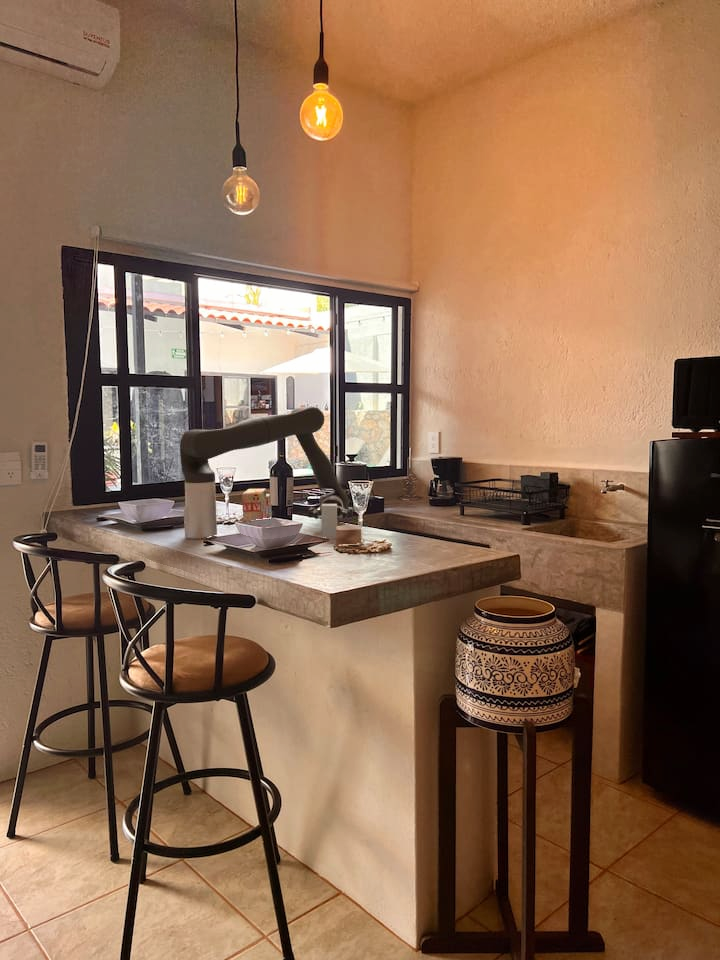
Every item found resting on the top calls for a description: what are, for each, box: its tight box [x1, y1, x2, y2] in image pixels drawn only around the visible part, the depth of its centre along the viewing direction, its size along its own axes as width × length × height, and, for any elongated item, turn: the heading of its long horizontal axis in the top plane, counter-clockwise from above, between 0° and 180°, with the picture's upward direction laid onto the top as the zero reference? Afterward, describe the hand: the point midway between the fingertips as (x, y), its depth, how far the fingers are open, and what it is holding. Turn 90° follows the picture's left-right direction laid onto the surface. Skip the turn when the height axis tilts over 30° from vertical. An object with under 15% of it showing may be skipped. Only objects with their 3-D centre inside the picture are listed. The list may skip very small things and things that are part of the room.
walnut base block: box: [335, 524, 362, 546], centre depth 200 cm, size 7×7×5 cm
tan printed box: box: [241, 488, 272, 523], centre depth 236 cm, size 21×6×12 cm, turn 179°
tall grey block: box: [321, 504, 338, 539], centre depth 210 cm, size 4×4×10 cm
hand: (329, 515), depth 215 cm, fingers open, 8 cm apart
